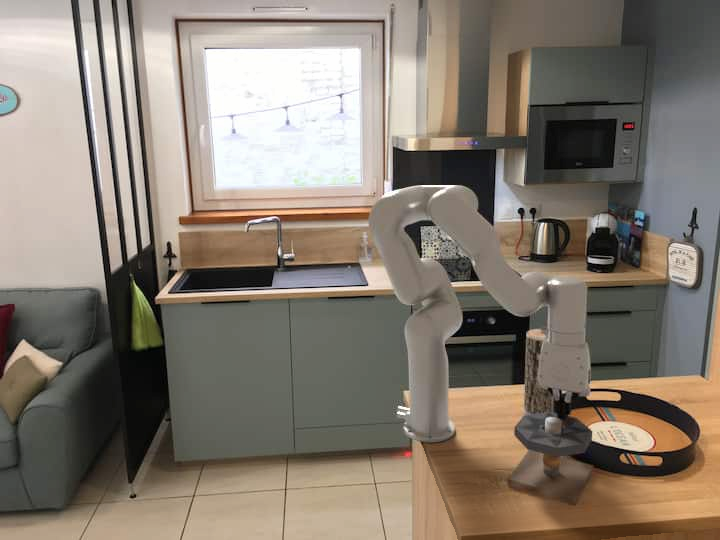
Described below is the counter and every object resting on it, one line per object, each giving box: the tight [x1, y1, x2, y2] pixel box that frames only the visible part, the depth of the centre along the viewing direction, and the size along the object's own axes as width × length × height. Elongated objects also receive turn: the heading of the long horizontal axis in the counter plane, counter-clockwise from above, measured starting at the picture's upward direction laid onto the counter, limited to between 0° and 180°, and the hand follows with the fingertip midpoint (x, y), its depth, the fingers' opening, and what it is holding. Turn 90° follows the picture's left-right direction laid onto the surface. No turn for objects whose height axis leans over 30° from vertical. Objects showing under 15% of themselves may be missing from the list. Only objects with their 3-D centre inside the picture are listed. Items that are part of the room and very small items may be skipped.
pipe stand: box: [507, 417, 594, 506], centre depth 134 cm, size 14×14×14 cm
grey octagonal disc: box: [513, 412, 593, 457], centre depth 133 cm, size 14×14×2 cm
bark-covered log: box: [523, 328, 555, 416], centre depth 153 cm, size 7×7×25 cm
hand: (563, 416), depth 138 cm, fingers closed
